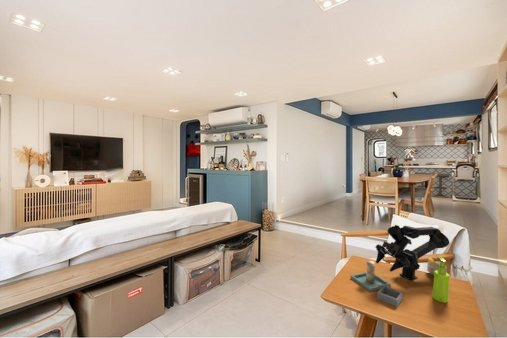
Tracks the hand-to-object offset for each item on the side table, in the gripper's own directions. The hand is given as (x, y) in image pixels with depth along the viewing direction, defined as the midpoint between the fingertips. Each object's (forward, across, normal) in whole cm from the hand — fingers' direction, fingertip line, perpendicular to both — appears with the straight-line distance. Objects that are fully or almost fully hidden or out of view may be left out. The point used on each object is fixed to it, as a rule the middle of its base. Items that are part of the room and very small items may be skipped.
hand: (383, 266), depth 133 cm
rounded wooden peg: (+11, 0, -1) cm, 11 cm away
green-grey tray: (+12, 0, 0) cm, 12 cm away
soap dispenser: (-4, +21, +16) cm, 27 cm away
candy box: (-17, +6, +30) cm, 35 cm away
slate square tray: (+13, +15, -2) cm, 20 cm away
